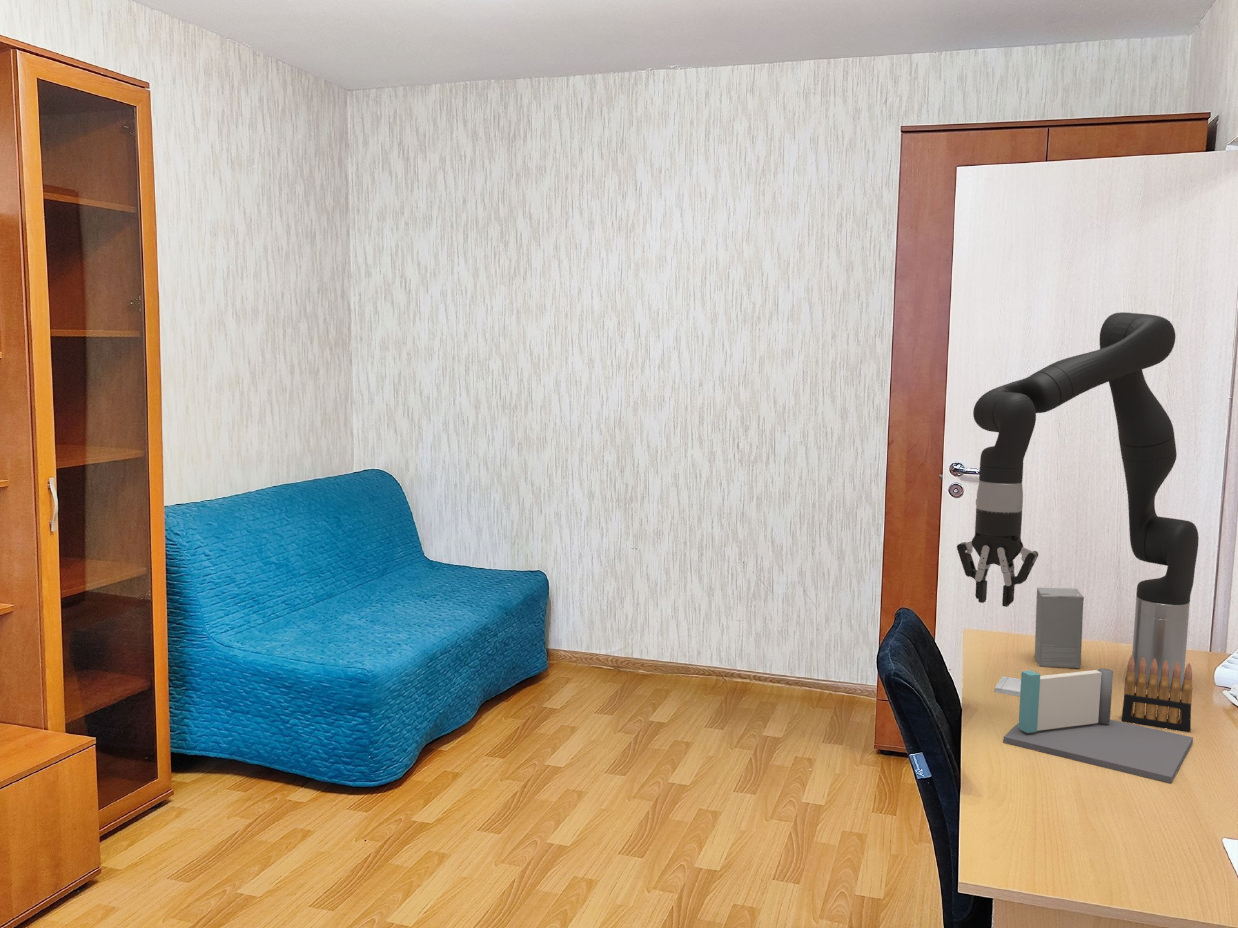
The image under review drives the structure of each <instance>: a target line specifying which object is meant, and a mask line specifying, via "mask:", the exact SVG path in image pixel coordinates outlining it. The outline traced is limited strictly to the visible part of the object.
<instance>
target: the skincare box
mask: <svg viewBox="0 0 1238 928" xmlns="http://www.w3.org/2000/svg"><path fill="white" fill-rule="evenodd" d="M1084 598H1085V596H1084V595H1082V593H1081V592H1080V591H1079V589H1078V588H1072V587H1071V588H1068V587H1067V588H1066V587H1065V588H1062V587H1058V588H1057V587H1036V604H1035V607H1036V608H1035V609H1036V610H1035V635H1034V636H1035V638H1034V640H1035V641H1034V658H1035V660H1036V662H1037V664H1038V666H1039V667H1042V668H1043V667H1045V668H1046V667H1049V668H1070V669H1071V668H1072V669H1080V668H1081V667H1082V647H1083V646H1082V641H1083V640H1082V639H1083V618H1084V617H1083V615H1084V600H1085V599H1084Z"/></svg>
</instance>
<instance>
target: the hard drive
mask: <svg viewBox="0 0 1238 928" xmlns="http://www.w3.org/2000/svg"><path fill="white" fill-rule="evenodd" d="M1020 689H1021V678H1015V677H1009V676H1003V675H1002V676H1001V677H1000V679H999V680H998V682H997V684H995V687H994V693H997V694H1004V695H1008V696H1009V695H1010V696H1013V697H1019V698H1020Z"/></svg>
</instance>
